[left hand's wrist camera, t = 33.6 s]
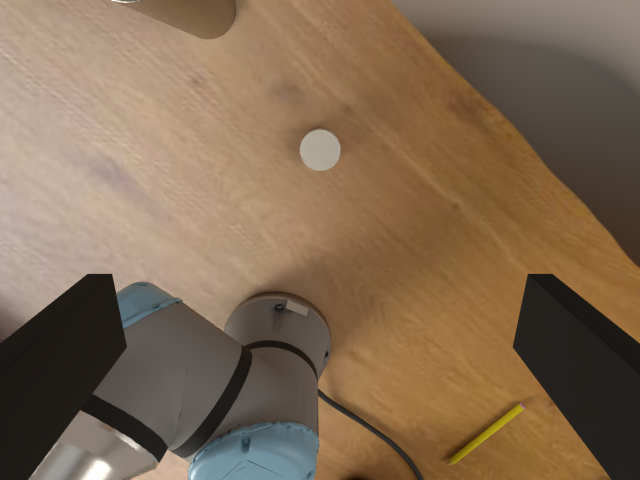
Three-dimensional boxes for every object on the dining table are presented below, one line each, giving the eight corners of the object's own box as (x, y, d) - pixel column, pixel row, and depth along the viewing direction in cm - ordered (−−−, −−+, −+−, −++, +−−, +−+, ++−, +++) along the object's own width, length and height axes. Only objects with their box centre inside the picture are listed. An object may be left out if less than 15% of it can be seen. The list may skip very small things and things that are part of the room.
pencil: (519, 401, 61) (522, 406, 60) (523, 404, 61) (526, 409, 60) (442, 462, 66) (444, 467, 65) (447, 465, 66) (448, 470, 65)
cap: (297, 131, 47) (296, 133, 45) (336, 125, 47) (337, 126, 45) (304, 170, 48) (303, 173, 47) (341, 164, 48) (342, 167, 46)
